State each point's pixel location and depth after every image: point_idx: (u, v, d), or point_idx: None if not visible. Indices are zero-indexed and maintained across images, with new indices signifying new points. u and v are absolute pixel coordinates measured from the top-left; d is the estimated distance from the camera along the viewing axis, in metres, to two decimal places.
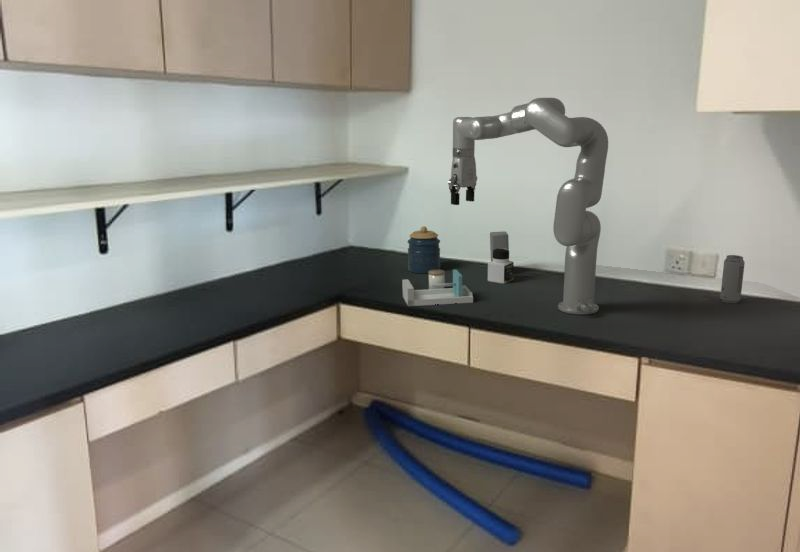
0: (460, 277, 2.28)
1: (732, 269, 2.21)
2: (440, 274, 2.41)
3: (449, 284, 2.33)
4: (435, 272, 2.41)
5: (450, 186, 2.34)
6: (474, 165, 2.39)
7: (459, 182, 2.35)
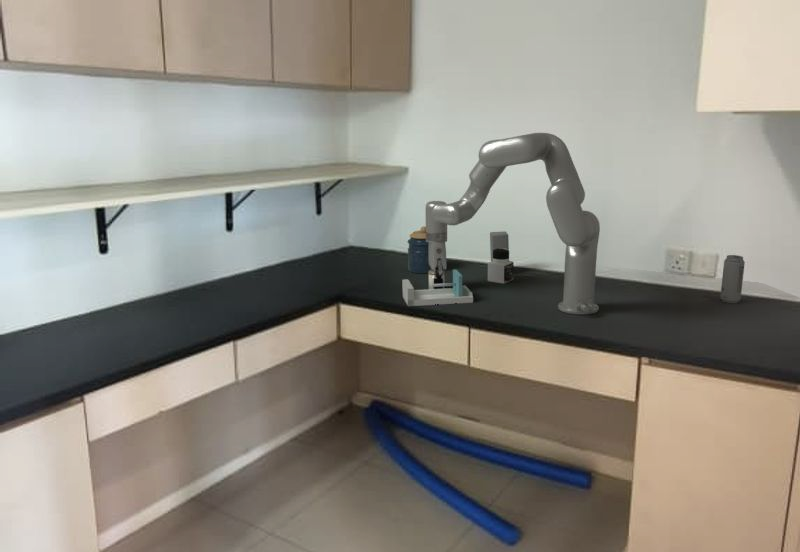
0: (460, 277, 2.28)
1: (732, 269, 2.21)
2: None
3: (449, 284, 2.33)
4: None
5: (440, 274, 2.37)
6: None
7: (444, 265, 2.38)
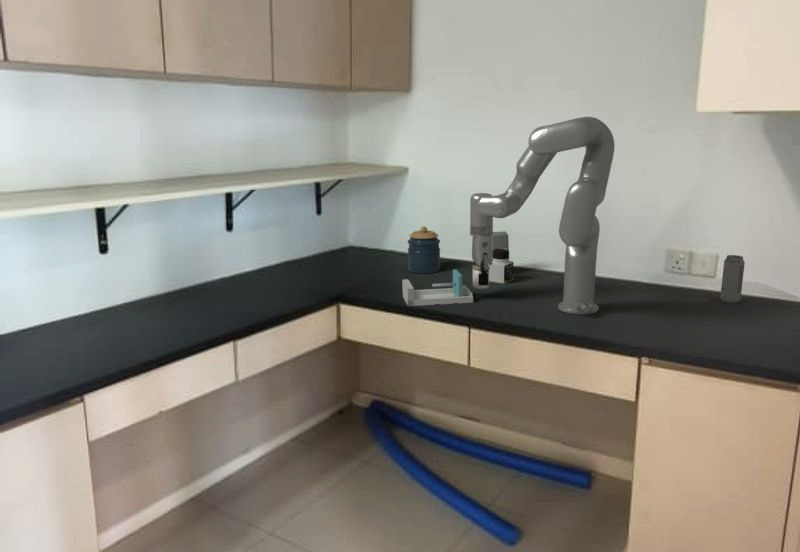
0: (460, 277, 2.28)
1: (732, 269, 2.21)
2: None
3: (449, 284, 2.33)
4: None
5: (486, 269, 2.27)
6: None
7: (490, 260, 2.28)
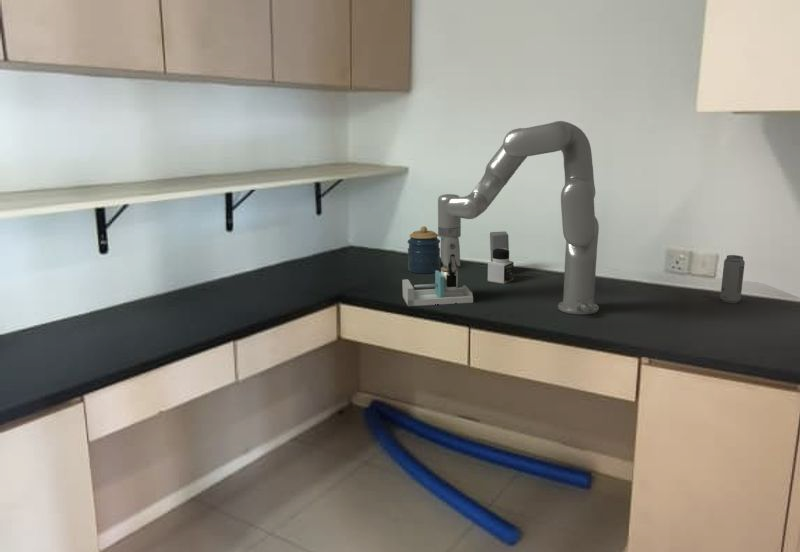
0: (442, 278, 2.28)
1: (732, 269, 2.21)
2: None
3: (431, 285, 2.32)
4: None
5: (453, 270, 2.25)
6: None
7: (457, 262, 2.26)
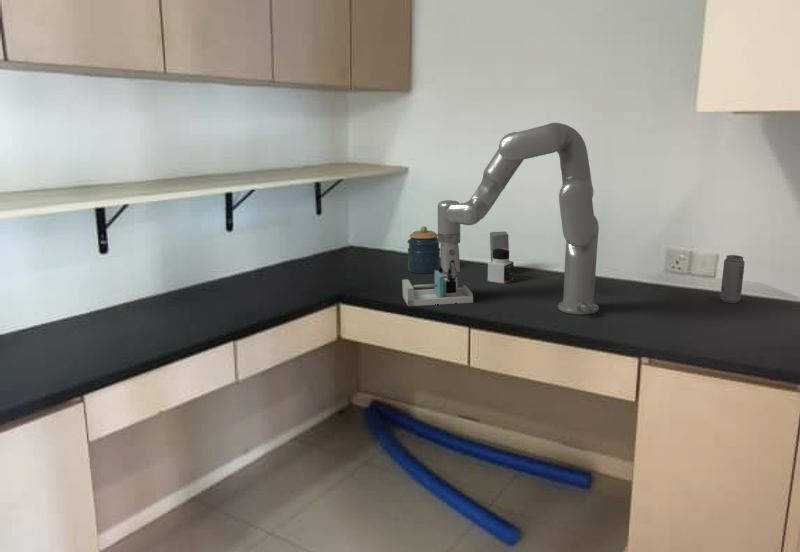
0: (441, 278, 2.27)
1: (732, 269, 2.21)
2: None
3: (430, 285, 2.32)
4: None
5: (453, 276, 2.26)
6: None
7: (457, 268, 2.27)
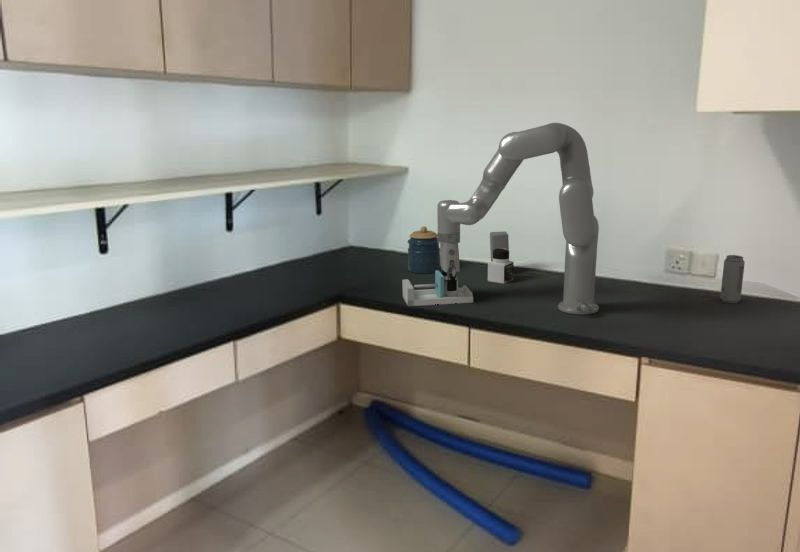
0: (442, 278, 2.28)
1: (732, 269, 2.21)
2: None
3: (431, 285, 2.32)
4: None
5: (454, 273, 2.24)
6: None
7: (457, 268, 2.27)
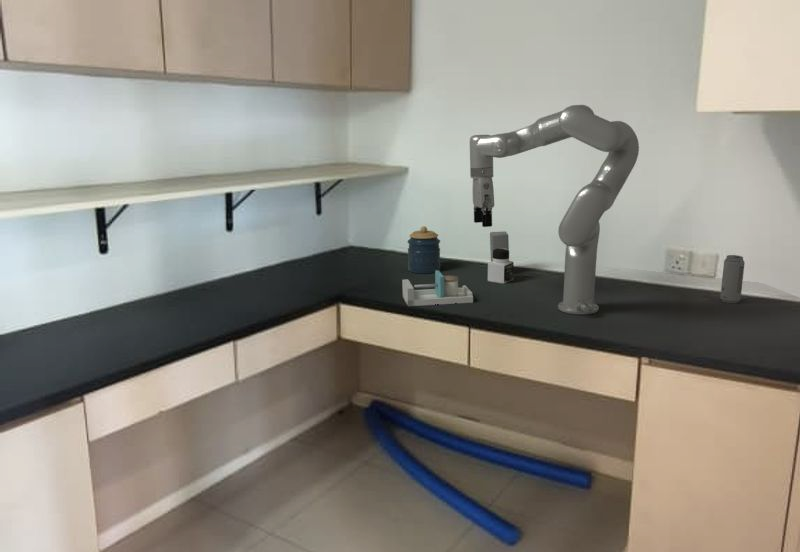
0: (442, 278, 2.28)
1: (732, 269, 2.21)
2: (453, 280, 2.30)
3: (431, 285, 2.32)
4: (448, 278, 2.31)
5: (489, 207, 2.21)
6: None
7: (492, 202, 2.24)
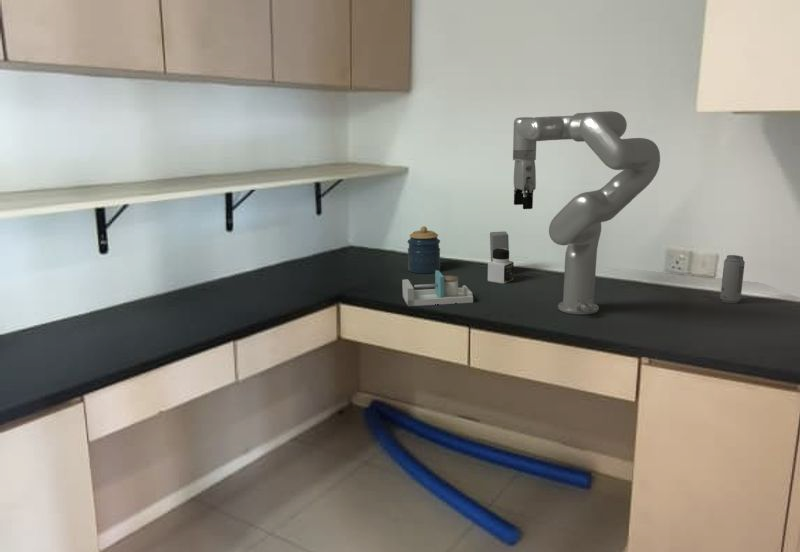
0: (442, 278, 2.28)
1: (732, 269, 2.21)
2: (453, 280, 2.30)
3: (431, 285, 2.32)
4: (448, 278, 2.31)
5: (531, 190, 2.23)
6: None
7: (533, 185, 2.26)
